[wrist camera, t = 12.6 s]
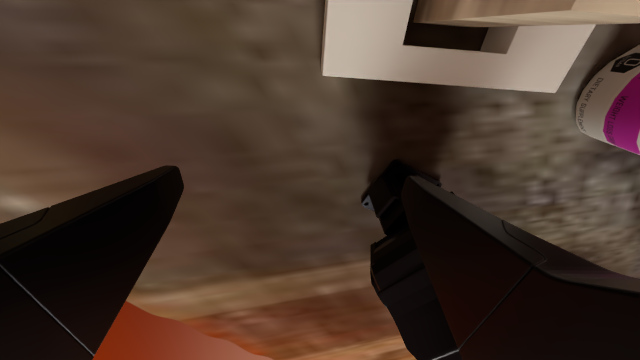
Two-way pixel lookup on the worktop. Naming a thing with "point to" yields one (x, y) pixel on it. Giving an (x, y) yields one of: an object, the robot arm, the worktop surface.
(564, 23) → the block
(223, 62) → the worktop surface
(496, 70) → the white flat frame
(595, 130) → the supplement can
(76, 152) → the worktop surface
